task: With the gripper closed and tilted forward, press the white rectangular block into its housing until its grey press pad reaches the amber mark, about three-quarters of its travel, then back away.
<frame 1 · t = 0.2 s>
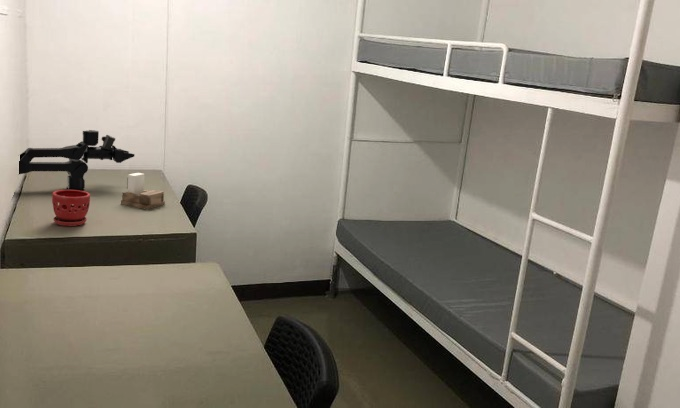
hand: (131, 153, 299), 16 cm above the table, tool horizontal, fingers open, 9 cm apart
white rectangular block: (135, 186, 274), point 7 cm above the table, slide at 0.0 cm
housing: (141, 203, 275), on the table
plant pot: (71, 223, 238), on the table
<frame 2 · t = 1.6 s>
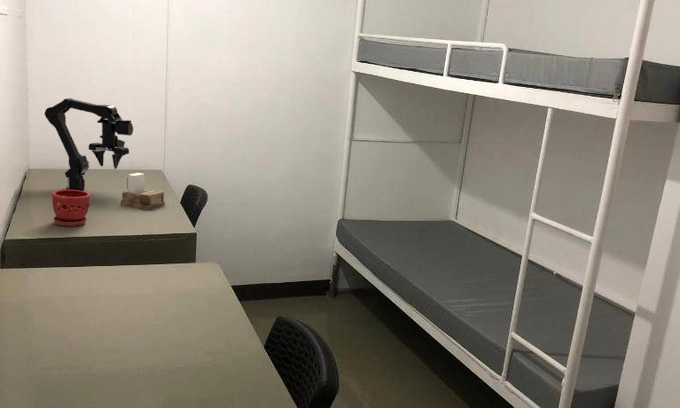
hand: (108, 167, 285), 12 cm above the table, tool pointing down, fingers open, 8 cm apart
nothing on the table moved.
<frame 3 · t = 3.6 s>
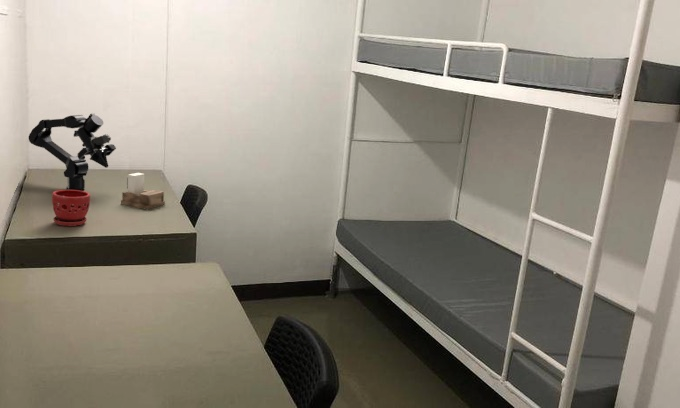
hand: (107, 167, 279), 13 cm above the table, tool tilted 45°, fingers closed
nothing on the table moved.
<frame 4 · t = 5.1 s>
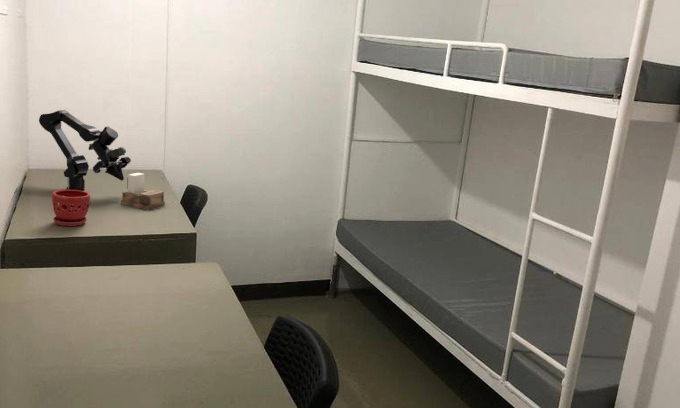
hand: (122, 179, 276), 9 cm above the table, tool tilted 45°, fingers closed
nothing on the table moved.
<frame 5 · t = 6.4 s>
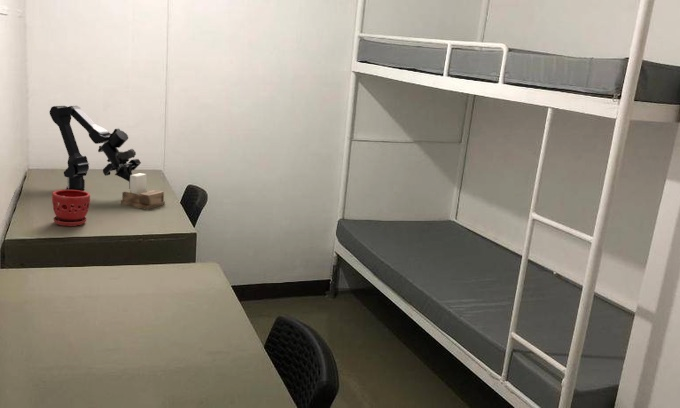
hand: (132, 182, 275), 9 cm above the table, tool tilted 45°, fingers closed, pressing on white rectangular block
white rectangular block: (137, 186, 274), point 7 cm above the table, slide at 1.2 cm, touching gripper
everything else where it was.
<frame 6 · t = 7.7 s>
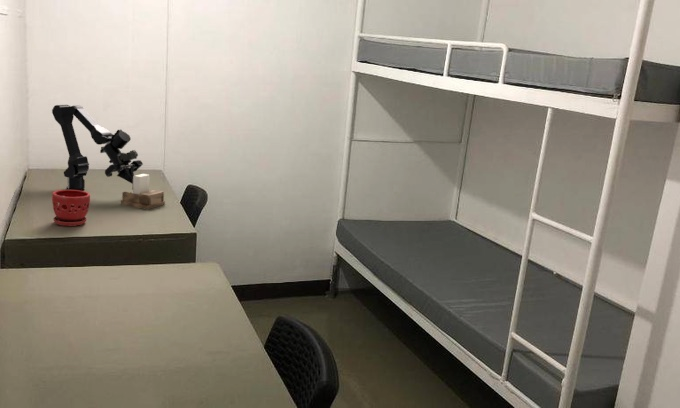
hand: (134, 183, 274), 8 cm above the table, tool tilted 45°, fingers closed
white rectangular block: (140, 187, 273), point 7 cm above the table, slide at 2.9 cm
everything else where it was.
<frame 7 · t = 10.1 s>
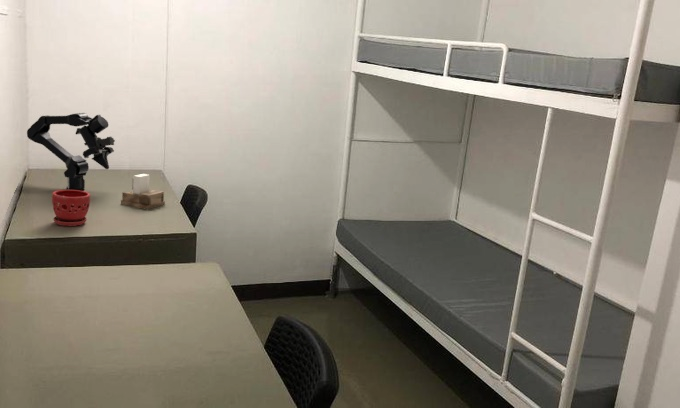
hand: (107, 168, 281), 12 cm above the table, tool tilted 35°, fingers closed
nothing on the table moved.
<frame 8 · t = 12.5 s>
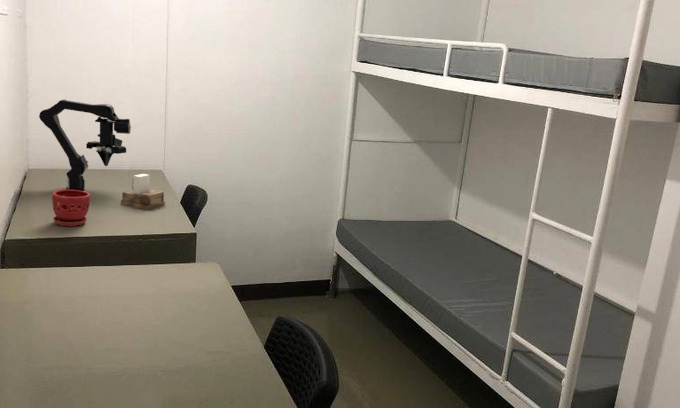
hand: (106, 165, 288), 12 cm above the table, tool pointing down, fingers closed
nothing on the table moved.
at the end: white rectangular block slide at 2.9 cm; the gripper is holding nothing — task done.
